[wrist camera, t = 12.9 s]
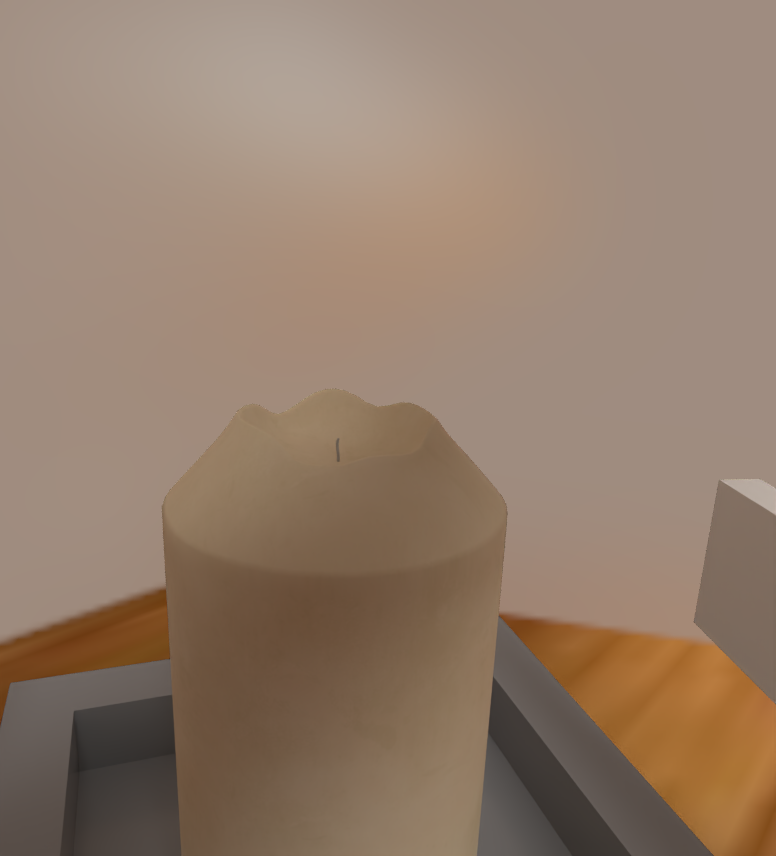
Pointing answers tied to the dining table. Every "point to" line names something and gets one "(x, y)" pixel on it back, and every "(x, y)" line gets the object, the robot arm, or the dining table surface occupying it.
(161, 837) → the charcoal dish
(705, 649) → the dining table surface
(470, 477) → the candle
